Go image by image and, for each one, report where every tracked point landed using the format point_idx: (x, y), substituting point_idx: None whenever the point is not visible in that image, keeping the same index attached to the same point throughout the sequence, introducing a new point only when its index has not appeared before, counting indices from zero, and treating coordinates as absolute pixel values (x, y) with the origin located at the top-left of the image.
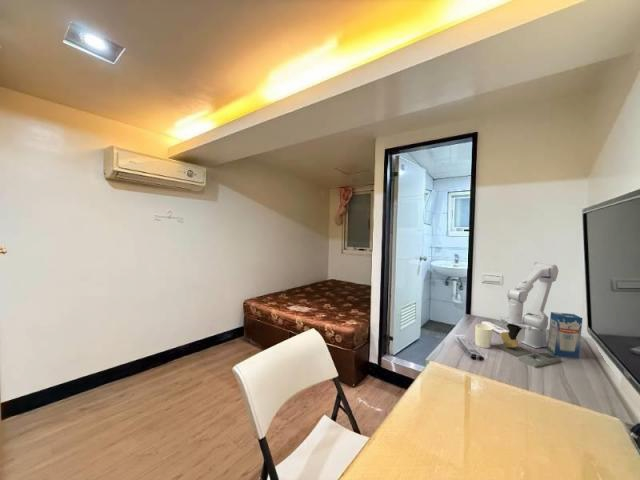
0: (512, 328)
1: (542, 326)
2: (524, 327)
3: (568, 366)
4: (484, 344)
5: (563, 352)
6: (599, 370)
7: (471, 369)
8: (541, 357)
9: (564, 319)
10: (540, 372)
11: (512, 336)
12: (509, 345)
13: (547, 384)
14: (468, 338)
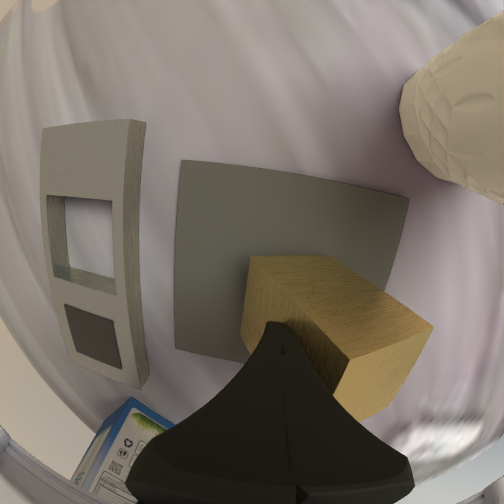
0: (241, 456)
1: None
2: (37, 485)
3: (48, 322)
4: (426, 65)
5: (111, 421)
6: (37, 370)
7: None
8: (82, 283)
9: None
10: (36, 106)
11: (270, 341)
12: (292, 262)
13: (14, 48)
14: None
